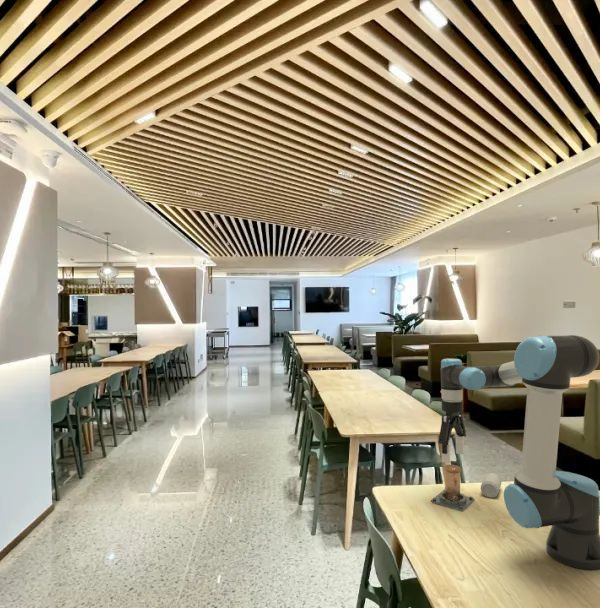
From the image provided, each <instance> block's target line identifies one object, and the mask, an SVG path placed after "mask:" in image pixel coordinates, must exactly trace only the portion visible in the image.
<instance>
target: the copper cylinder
mask: <svg viewBox="0 0 600 608" xmlns="http://www.w3.org/2000/svg"><path fill="white" fill-rule="evenodd" d="M443 469H444V490H445V498H446V499H449V500H460V493H461V469H462V468H461V467H460V466H458V465H455V464H445V465H444V467H443Z"/></svg>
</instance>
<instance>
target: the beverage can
mask: <svg viewBox="0 0 600 608" xmlns="http://www.w3.org/2000/svg"><path fill="white" fill-rule="evenodd" d="M480 484H481V485H480V490H481V493H482V495H483V496H484V497H486V498H489V499H494V498H496V497H498V495H499V492H500V490H501V487H502V480H501V478H500V476H499V475H498V474H496V473H493V472H489V473H487V474H485V476H484V477H483V480H482V482H481V483H480Z"/></svg>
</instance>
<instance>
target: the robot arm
mask: <svg viewBox="0 0 600 608" xmlns="http://www.w3.org/2000/svg"><path fill="white" fill-rule="evenodd" d="M599 363H600V354H599V350H598V348H597V347H596V345H595V344H594V343H593V342H592V341H591V340H589V339H587V338H586V337H583V336H580V335H572V334H571V335H570V334H569V335H538V336H529V337H526V338H525V339H523V340H522V341H521V342H520V343H519V344H518V346H517V347H516V350H515V352H514V357H513V360H512V361H509V362H505V363H502V364H498V365H497V364H496V365H489V366H488V365H487V366H486V365H481V366H480V365H479V366H478V365H477V366H466V365H465V366H463V362H462V360H461V359H460V358H443V359H441V361H440V370H439V371H440V386H441V387H440V389H441V390H440V393H441V399H442V400H441V411H443V412H445V415H442V416H441V424H440V430H439V435H438V436H439V437H438V444H440V445H441V447H440V448H441V463H444V464H445V463H446V464H450V463H451V457H450V455H451V454H450V453H451V452H450V451H451V448H450V444H449V443H450V439H451V435H452V431H453V429H454V432H455V433H456V436H455V453H456V454H457V455H458V454H459V455H464V454H465V448H464V447H465V446H464V445H465V444H464V442H465V441H464V437H467V433H466V427H465V422H464V419H463V411H464V408H463V407H464V405H463V404H464V403H463V395H464V394H463V388H464V389H466V390H470V391H472V390H473V391H478V390H480V389H486V388H506V387H511V386H512V387H513V386H515V385H516V384H521V383H523V385H524V386H525V387H526V388H527V391H526V392H527V393H526V401H525V402H526V403H525V404H526V405H525V416H524V429H523V440H522V442H523V443H522V453H521V466H520V469H517V470H516V471H515V473H514V479H513V483H509V484H508V485H506V486H505V487H504V490H503V500H504V505H505V508H506V510H507V511H508V514H509V516H510V517H511V518H512V519H513V521H514V522H515V523H516V524H517V525H519V526H520V527H522V528H524V529H539V528H544V527H550V526H551V527H550V531H549V533H548V536H547V538H546V541H545V550H546V553H547V554H548V555H549V556H550V557H551V558H552V559H554V560H555V561H557V562H559V563H561V564H564V565H565V566H568V567H571V568H576V569H580V570H589V571H595V570H596V571H597V570H600V493H599V485H598V484H597V483H596V481H594V479H591V478H589V477H587V476H584V475H581V474H578V473H575V472H574V473H573V472H570V471H561V470H557V469H556V468H557V461H558V448H559V446H558V445H559V438H560V437H559V435H560V428H561V427H560V425H561V417H562V415H561V413H562V402H563V394H564V393H565V392H567V391H568V390H570V387H571V386H570V385H571V379H572V378H580V377H581V378H582V377H586V376H588V375H590V374H592V373H593V372H594V371H595V370H596V369H597V367H598V366H599Z"/></svg>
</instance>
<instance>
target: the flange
mask: <svg viewBox="0 0 600 608" xmlns="http://www.w3.org/2000/svg"><path fill="white" fill-rule="evenodd" d="M475 500H476V499H475V498H474V497H473V496H471V495H470V496H467V495H465V494H462V493H461V492H460V500H449V499H446V498H445V489H443V490H442V491H441V492H440V493H439V494H437V495H436V496H435V497H433V498H431V499H430V503H431V502H432V503H431V504H434V503H435V504H434V505H437V504H438V506H441V507H444V508H449V509H453V510H455V511H458V512H459V511H460V512H464V511H465V510H466V509H468V508H469V506H471V505H472V504H473V503H474V502H475Z"/></svg>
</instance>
